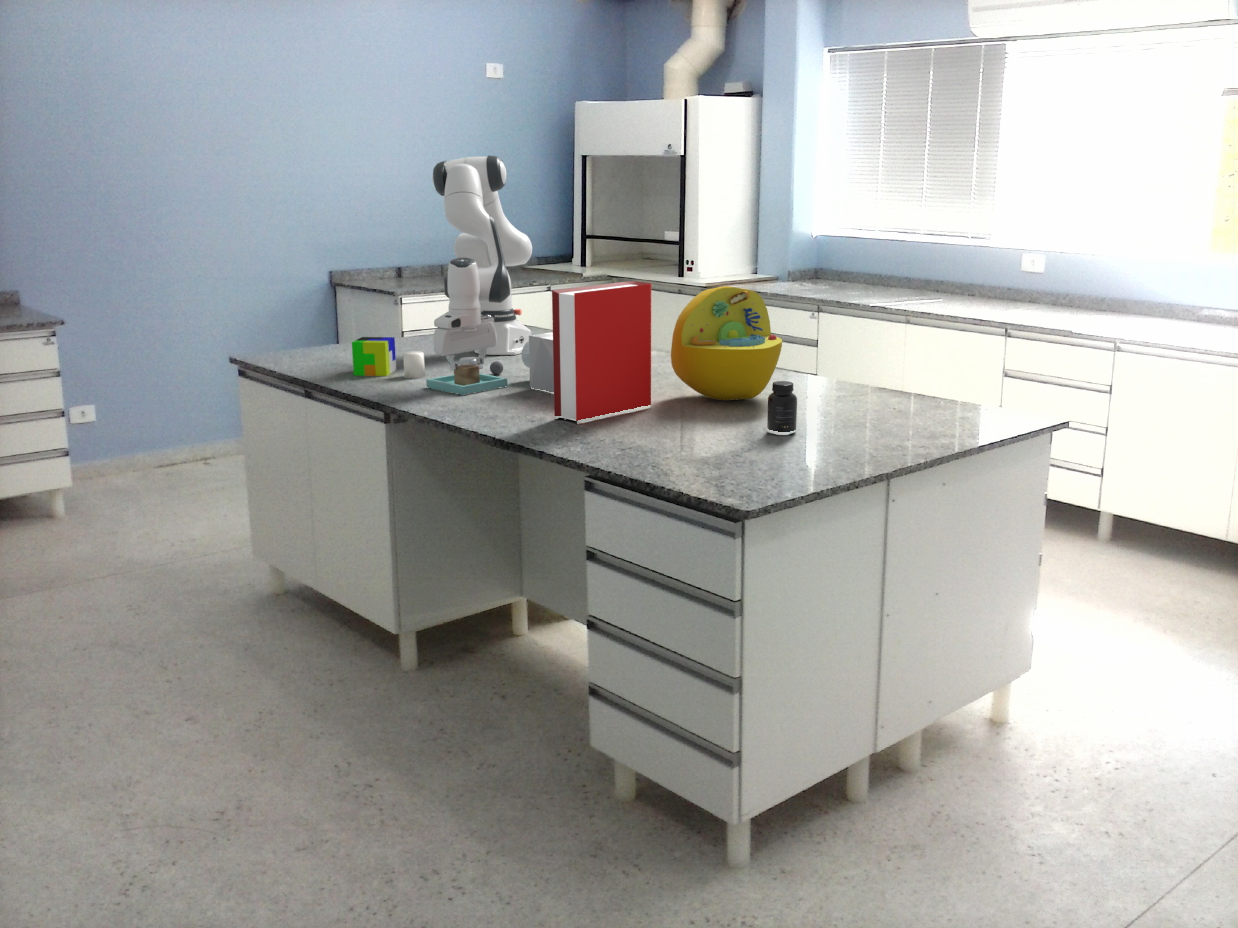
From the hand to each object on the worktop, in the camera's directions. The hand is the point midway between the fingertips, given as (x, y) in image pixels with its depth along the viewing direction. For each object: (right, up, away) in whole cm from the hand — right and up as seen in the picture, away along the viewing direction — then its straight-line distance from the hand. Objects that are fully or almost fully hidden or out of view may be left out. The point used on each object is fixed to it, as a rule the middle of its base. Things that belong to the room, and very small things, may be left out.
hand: (467, 367), depth 329 cm
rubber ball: (+6, +1, +19) cm, 20 cm away
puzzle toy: (-31, 0, +23) cm, 39 cm away
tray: (0, -6, +1) cm, 6 cm away
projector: (+29, -6, 0) cm, 30 cm away
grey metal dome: (-3, +2, +30) cm, 30 cm away
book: (+39, -15, -32) cm, 53 cm away
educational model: (+71, -10, -17) cm, 74 cm away
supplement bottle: (+81, -20, -52) cm, 98 cm away
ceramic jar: (-18, -1, +17) cm, 25 cm away
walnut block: (0, -5, +1) cm, 5 cm away
